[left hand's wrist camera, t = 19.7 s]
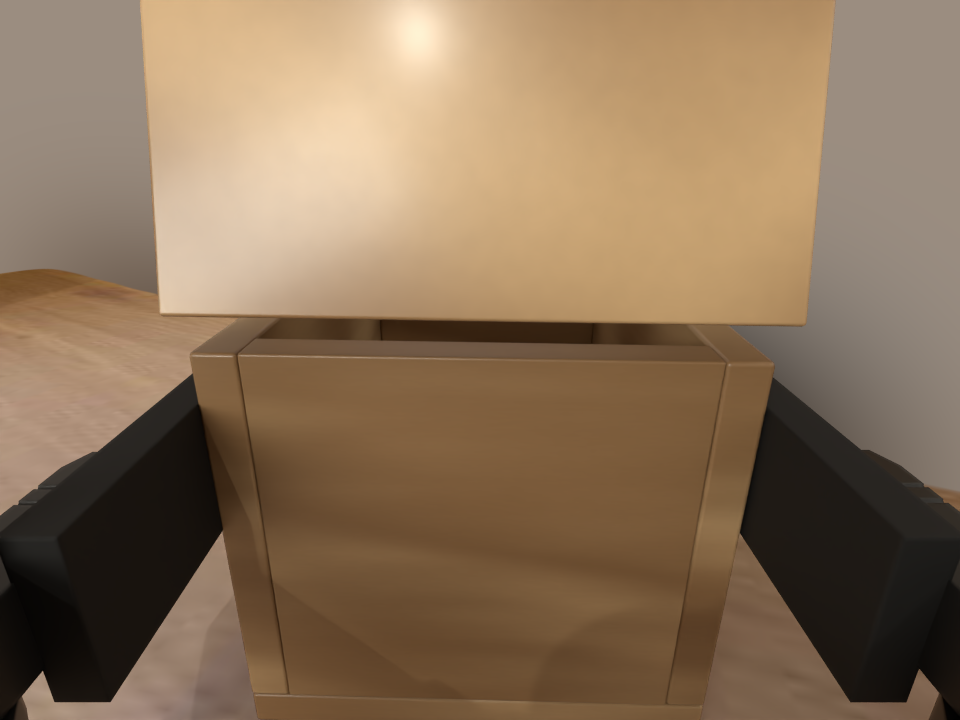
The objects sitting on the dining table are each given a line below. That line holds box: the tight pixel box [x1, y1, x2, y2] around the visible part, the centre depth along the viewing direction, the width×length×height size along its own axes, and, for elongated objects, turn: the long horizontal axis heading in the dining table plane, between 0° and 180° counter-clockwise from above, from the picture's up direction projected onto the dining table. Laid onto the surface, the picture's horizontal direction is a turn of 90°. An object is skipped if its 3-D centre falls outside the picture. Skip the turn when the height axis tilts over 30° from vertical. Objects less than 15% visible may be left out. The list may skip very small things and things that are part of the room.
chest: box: [190, 318, 775, 720], centre depth 17 cm, size 13×10×9 cm
